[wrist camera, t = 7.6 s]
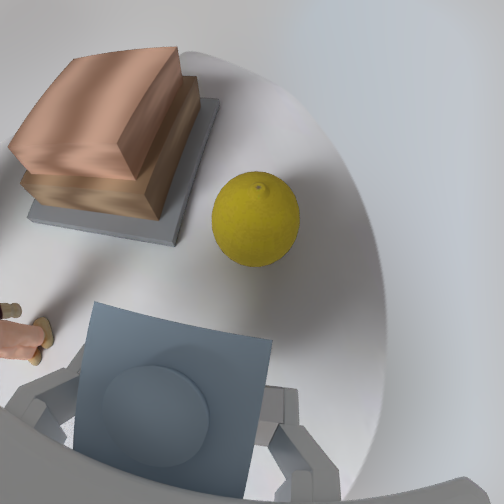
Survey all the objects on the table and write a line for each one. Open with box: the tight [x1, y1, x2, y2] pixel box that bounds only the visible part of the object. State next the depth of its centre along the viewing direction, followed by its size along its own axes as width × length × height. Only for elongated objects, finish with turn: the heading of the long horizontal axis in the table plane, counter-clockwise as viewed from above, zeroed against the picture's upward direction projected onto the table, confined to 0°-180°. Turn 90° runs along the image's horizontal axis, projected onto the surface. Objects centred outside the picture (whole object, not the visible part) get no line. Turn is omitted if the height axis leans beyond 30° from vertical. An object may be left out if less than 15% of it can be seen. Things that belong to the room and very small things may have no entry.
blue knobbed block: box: [73, 301, 273, 499], centre depth 10 cm, size 5×5×9 cm
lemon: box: [212, 171, 300, 267], centre depth 19 cm, size 6×6×8 cm
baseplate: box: [27, 98, 219, 247], centre depth 24 cm, size 16×16×1 cm
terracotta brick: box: [8, 47, 201, 221], centre depth 20 cm, size 13×13×8 cm
